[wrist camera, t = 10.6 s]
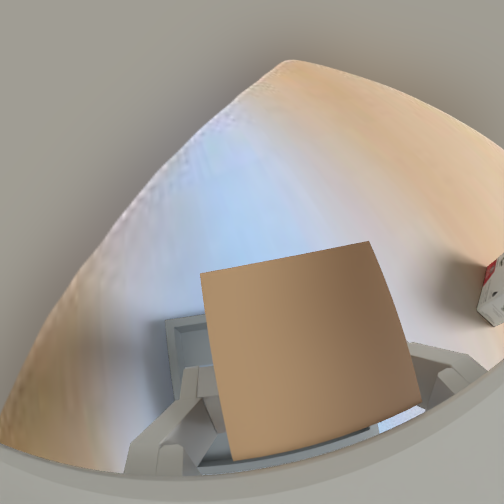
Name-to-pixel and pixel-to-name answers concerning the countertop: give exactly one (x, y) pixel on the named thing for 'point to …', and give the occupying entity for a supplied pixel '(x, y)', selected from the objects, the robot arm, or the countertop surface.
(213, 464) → the tray
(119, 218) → the countertop surface
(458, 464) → the robot arm
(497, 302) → the ink box
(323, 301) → the tan block
